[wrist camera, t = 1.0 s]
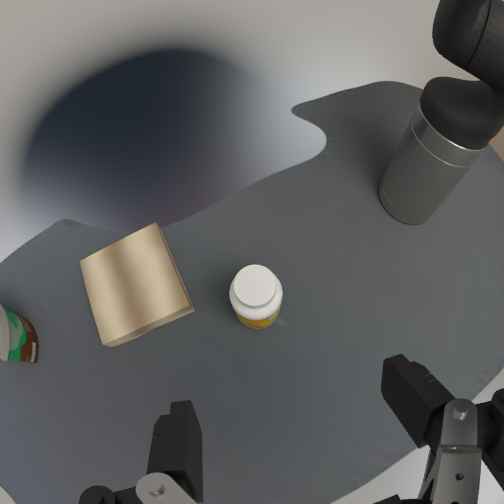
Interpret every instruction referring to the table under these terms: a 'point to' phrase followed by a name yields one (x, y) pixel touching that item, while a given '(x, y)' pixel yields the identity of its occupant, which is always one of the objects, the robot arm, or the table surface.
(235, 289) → the supplement bottle
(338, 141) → the table surface
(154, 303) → the base block
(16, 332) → the food container
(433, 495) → the robot arm
